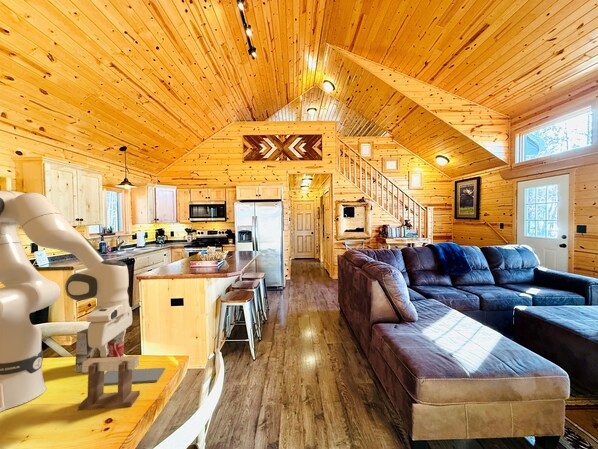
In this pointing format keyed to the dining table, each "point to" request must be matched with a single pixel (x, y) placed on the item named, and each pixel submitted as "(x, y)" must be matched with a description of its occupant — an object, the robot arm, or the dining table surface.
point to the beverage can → (115, 348)
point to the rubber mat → (135, 376)
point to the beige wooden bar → (111, 363)
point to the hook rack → (109, 400)
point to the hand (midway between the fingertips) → (112, 348)
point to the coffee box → (84, 350)
